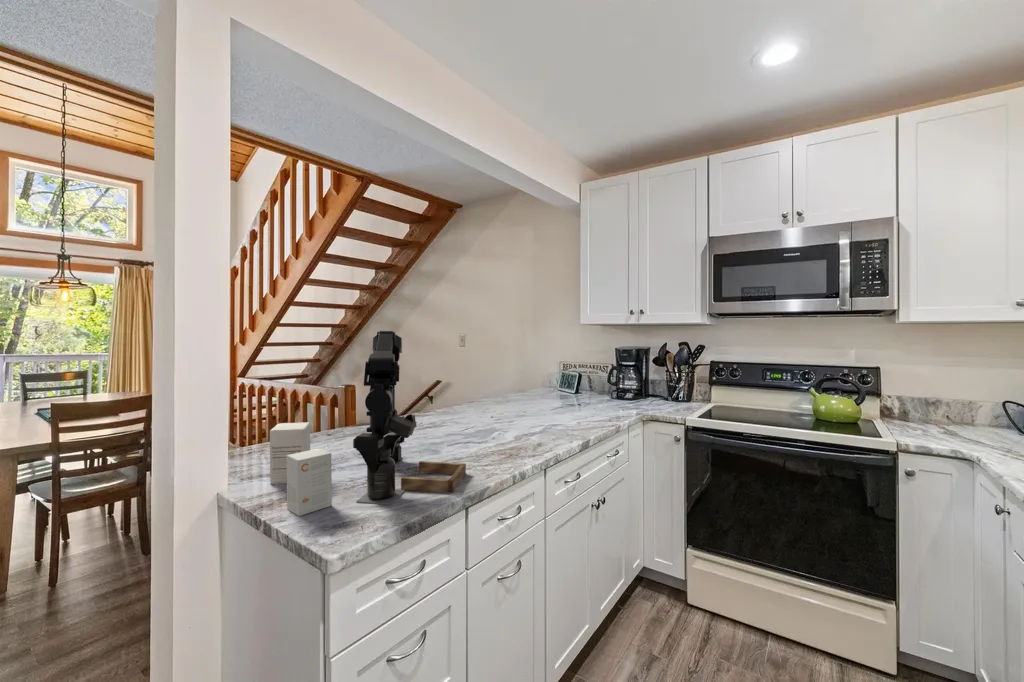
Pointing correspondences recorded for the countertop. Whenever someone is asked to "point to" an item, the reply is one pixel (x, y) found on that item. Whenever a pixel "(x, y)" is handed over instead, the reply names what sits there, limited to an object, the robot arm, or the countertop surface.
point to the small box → (309, 481)
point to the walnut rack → (435, 484)
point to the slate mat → (387, 501)
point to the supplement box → (286, 447)
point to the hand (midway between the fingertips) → (381, 467)
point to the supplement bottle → (382, 477)
